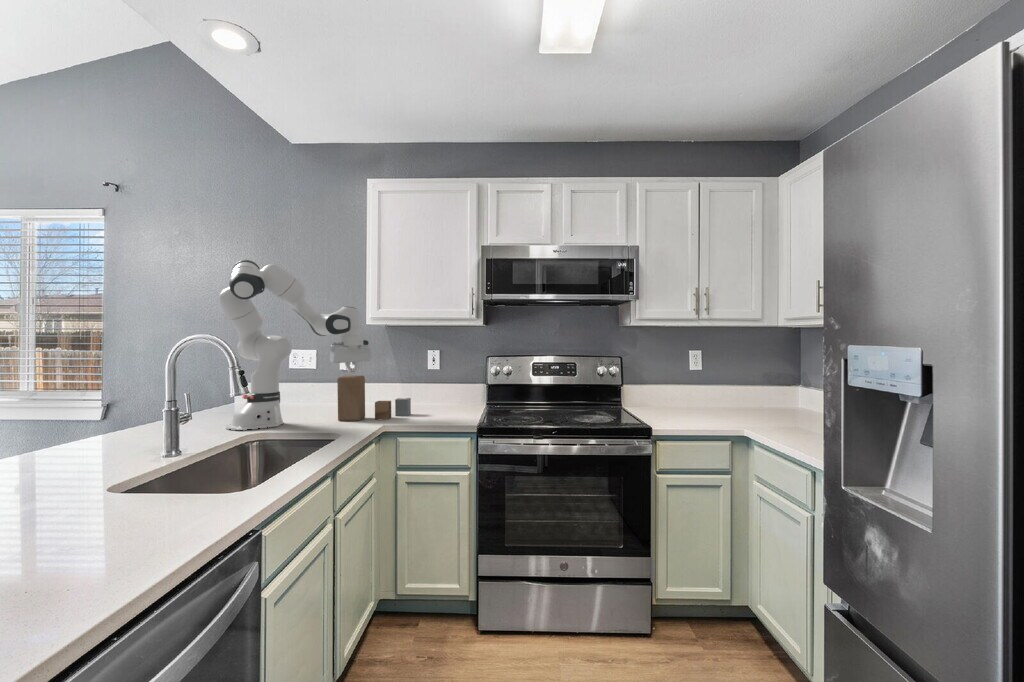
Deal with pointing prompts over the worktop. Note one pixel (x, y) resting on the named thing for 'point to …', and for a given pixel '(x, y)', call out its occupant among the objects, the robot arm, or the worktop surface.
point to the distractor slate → (402, 406)
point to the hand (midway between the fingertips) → (351, 372)
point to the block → (351, 397)
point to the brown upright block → (383, 410)
